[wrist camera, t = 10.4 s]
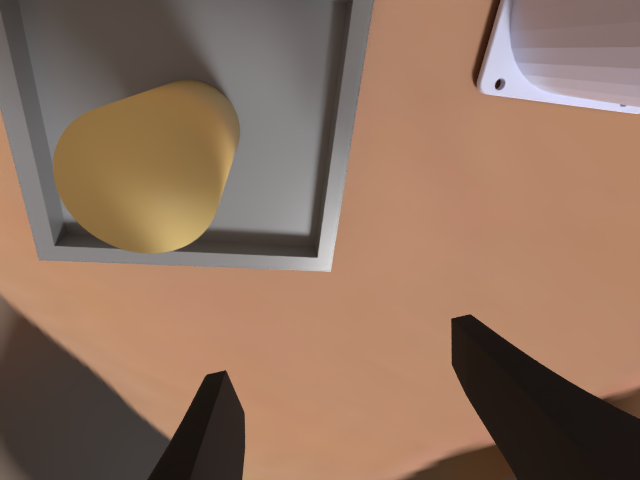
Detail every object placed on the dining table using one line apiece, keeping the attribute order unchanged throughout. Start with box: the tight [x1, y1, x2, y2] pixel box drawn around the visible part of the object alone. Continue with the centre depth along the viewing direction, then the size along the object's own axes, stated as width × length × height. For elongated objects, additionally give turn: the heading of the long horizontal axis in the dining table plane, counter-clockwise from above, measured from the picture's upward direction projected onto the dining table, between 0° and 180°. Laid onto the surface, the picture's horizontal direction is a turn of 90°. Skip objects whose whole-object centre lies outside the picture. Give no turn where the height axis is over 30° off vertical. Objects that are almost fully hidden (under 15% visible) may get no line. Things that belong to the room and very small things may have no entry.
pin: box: [53, 80, 240, 254], centre depth 13 cm, size 4×4×8 cm
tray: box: [0, 0, 374, 271], centre depth 16 cm, size 14×13×2 cm
